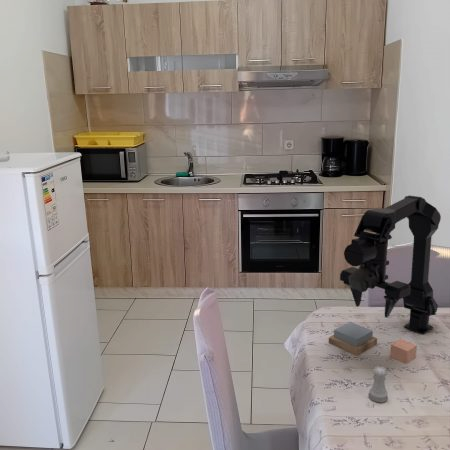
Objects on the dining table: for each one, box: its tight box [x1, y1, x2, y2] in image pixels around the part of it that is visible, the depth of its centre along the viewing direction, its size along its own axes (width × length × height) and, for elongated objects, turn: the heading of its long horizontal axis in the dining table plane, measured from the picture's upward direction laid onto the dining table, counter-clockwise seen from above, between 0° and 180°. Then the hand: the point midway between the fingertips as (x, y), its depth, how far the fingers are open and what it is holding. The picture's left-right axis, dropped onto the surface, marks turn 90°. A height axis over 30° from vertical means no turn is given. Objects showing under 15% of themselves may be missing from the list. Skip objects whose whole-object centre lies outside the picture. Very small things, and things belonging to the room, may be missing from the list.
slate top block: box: [333, 321, 374, 347], centre depth 140 cm, size 8×8×2 cm
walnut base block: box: [328, 334, 378, 357], centre depth 140 cm, size 10×10×2 cm
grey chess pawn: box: [368, 365, 389, 404], centre depth 114 cm, size 4×4×8 cm
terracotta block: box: [389, 338, 418, 365], centre depth 132 cm, size 5×5×4 cm
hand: (371, 311), depth 128 cm, fingers open, 9 cm apart
